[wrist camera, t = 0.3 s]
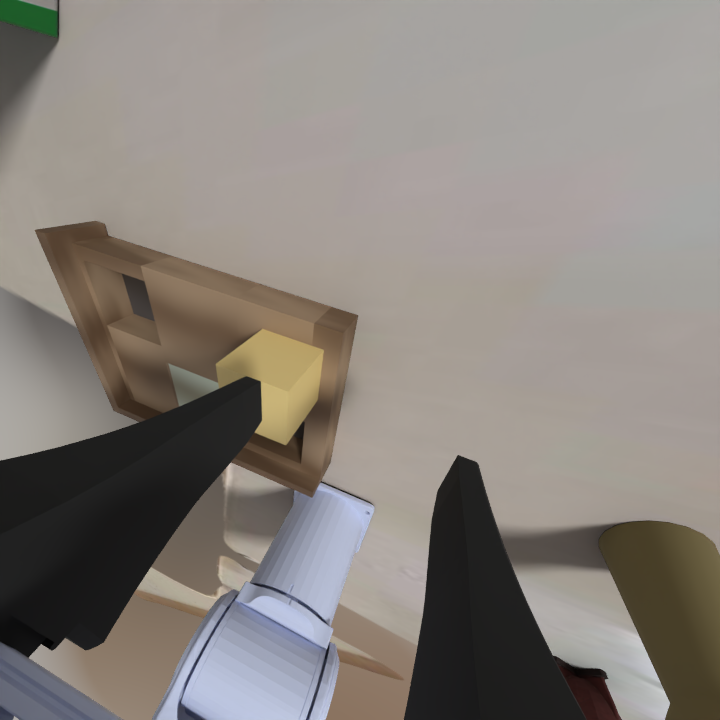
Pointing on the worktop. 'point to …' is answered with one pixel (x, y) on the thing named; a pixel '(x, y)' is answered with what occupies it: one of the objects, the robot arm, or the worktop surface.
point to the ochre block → (277, 379)
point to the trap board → (193, 338)
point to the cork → (672, 608)
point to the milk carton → (31, 15)
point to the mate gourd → (590, 691)
